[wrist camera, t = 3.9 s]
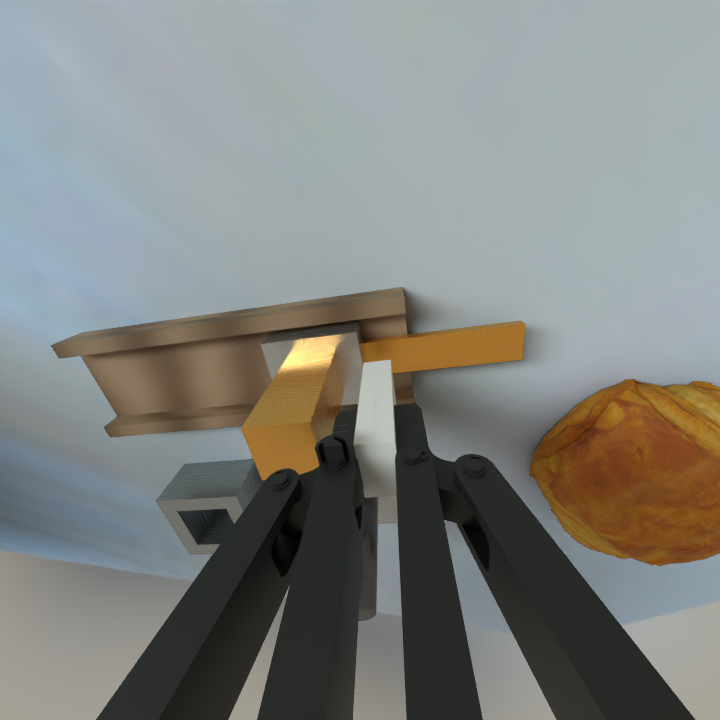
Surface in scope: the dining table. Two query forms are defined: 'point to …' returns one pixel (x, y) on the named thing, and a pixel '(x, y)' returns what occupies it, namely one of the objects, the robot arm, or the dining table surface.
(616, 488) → the croissant
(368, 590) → the square plate with peg
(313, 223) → the dining table surface
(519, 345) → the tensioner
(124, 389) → the rail
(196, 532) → the square hollow frame
